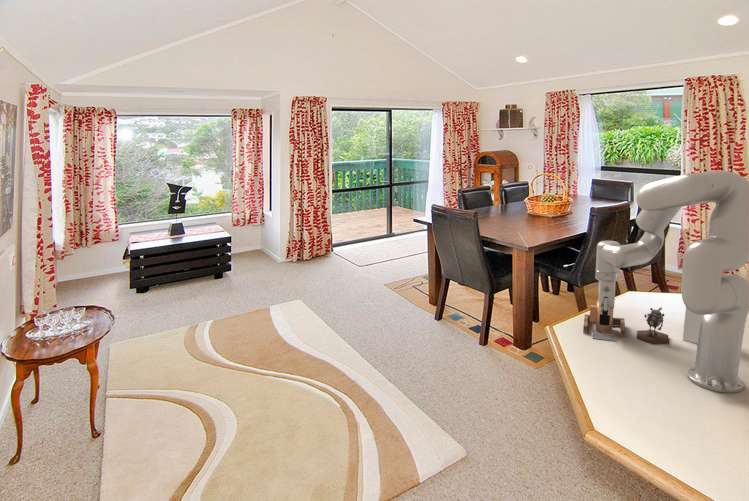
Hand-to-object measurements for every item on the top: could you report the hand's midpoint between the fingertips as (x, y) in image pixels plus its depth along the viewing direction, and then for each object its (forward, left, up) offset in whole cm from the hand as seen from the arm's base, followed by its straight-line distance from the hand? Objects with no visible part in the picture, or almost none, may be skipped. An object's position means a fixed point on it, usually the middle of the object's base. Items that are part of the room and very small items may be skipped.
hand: (604, 321), depth 158 cm
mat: (-7, 0, -3) cm, 8 cm away
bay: (0, 0, -3) cm, 3 cm away
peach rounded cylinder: (0, +1, -3) cm, 4 cm away
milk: (+1, -28, -4) cm, 28 cm away
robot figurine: (-2, -15, -4) cm, 16 cm away
